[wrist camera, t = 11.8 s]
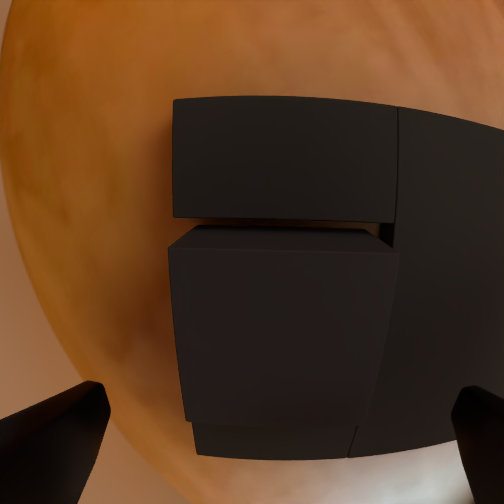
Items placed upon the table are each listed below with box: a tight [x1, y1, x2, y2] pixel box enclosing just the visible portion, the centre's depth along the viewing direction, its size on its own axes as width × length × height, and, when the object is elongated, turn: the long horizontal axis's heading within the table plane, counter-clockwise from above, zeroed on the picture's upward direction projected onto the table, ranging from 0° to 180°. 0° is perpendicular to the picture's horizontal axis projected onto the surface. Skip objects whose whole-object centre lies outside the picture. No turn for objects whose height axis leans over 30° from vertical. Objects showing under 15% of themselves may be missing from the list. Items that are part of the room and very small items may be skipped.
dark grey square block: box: [168, 225, 400, 428], centre depth 11 cm, size 6×6×4 cm
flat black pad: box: [172, 96, 504, 460], centre depth 11 cm, size 20×15×2 cm
